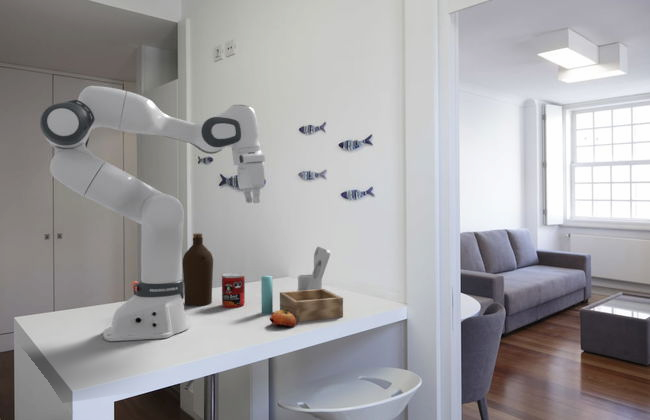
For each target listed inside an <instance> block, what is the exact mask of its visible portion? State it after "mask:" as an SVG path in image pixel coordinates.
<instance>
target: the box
mask: <svg viewBox="0 0 650 420" xmlns="http://www.w3.org/2000/svg"><path fill="white" fill-rule="evenodd" d="M286 308H287V309H288V310H289V311H288V312H290V313H291V314H293V315H294V317H295V319H296V323H297V322H307V321H316V320H326V319H334V318H335V319H336V318H342V317H344V297H342V296H341V295H337V294H335V293H333V292H331V291H329V290H327V289H325V288H322V289H315V290H303V291H297V290H295V291H280V292H279V310H283V311H285V309H286Z"/></svg>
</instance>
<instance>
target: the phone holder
mask: <svg viewBox="0 0 650 420" xmlns="http://www.w3.org/2000/svg"><path fill="white" fill-rule="evenodd" d="M330 257H331V251H330V250H328V249H327V248H324V247H320V246H317V247H316V248H315V250H314V254H313V270H312V274H300V275H298V276H297V290H296V291H303V290H315V289H323V276H324V273H325V270H326V268H327V265H328V262H329V259H330Z"/></svg>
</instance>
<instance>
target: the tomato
mask: <svg viewBox="0 0 650 420" xmlns="http://www.w3.org/2000/svg"><path fill="white" fill-rule="evenodd" d="M288 311H289V310H288V309H287V308H286V309H285V311H283V310H280V309H278V310H276V311H275V312H274V313H272V314H271V317H270V318H269V321H270V322H271V325H273V326H276V325H282V326H287V327H288V326H289V327H292V328H295V326H296V325H297V322H296V319H295V317H294V315H293V314H291V313H290V312H288Z"/></svg>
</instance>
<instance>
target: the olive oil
mask: <svg viewBox="0 0 650 420" xmlns="http://www.w3.org/2000/svg"><path fill="white" fill-rule="evenodd" d="M192 236H193V237H192V245H191V246H190V247H189V248H188V250H187V251H186V252H185V253H184V254H183V256H182V279H183V280H184V298H183V300H184V305H185V306H188V307H202V306H203V307H204V306H207V305H211V304H212V303H213V302H212V301H213V277H214V276H213V274H214V273H213V272H214V257H213V255H212V252H210V250H208V248H207V247H206V246H205V245H204V242H203V241H204V240H203V239H204V238H203V233H201V232H200V233H193V235H192Z"/></svg>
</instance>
